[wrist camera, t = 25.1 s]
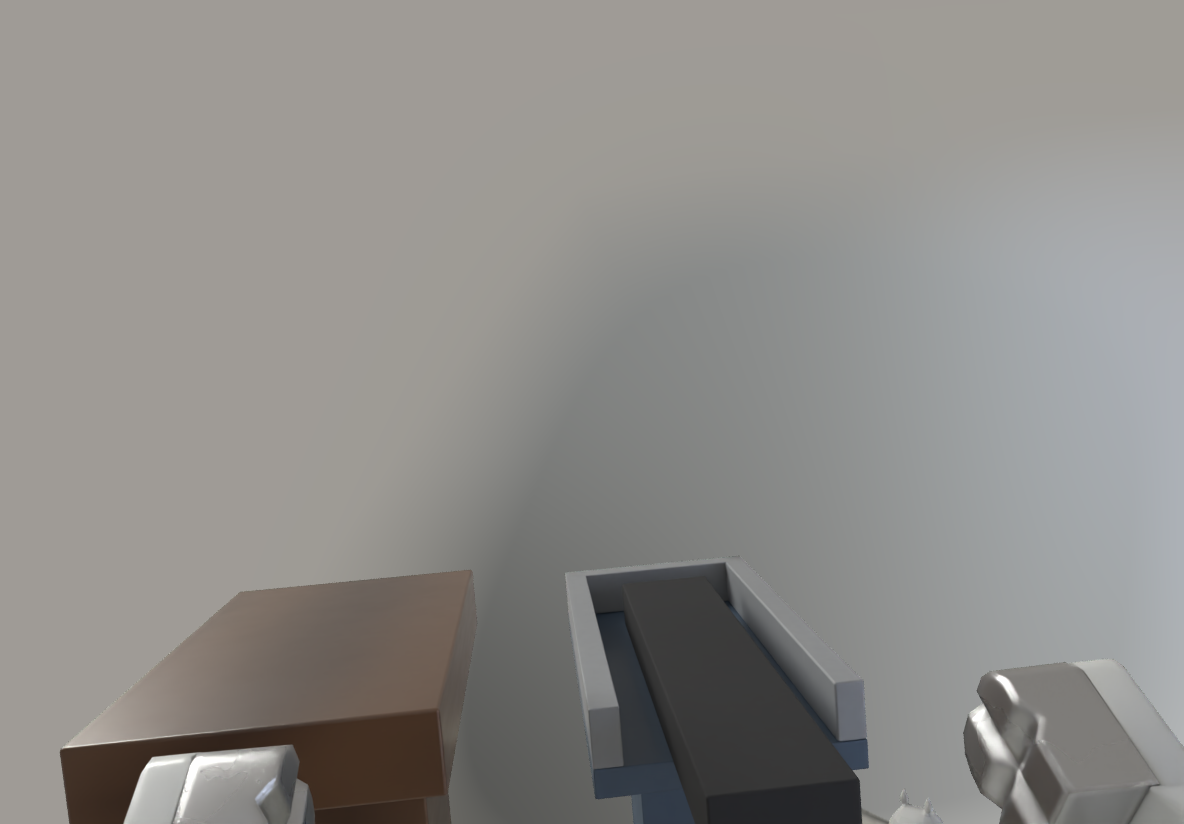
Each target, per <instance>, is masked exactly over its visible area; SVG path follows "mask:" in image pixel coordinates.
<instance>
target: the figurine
mask: <svg viewBox="0 0 1184 824" xmlns="http://www.w3.org/2000/svg"><path fill="white" fill-rule="evenodd" d="M900 801H901V802H902V804H903V805H902V806H901V807H900V808H899V809H898V810H897V811H896V812H895V813H894V814H893V816H892V817H891V819H890V821H889V824H943V822H942V820H941V818H940V817H939V816H938V815H937V814H936V812H935V811H934V810H933V807H932V804H931V801H930V799H929V798H928V799H927V800H926V802H925V805H924V808H922V807H918V806H913V805H911V804H909V803H908V801H909V798H908V795H907V793H906V790H905V789H903V791H902V793H901V795H900Z"/></svg>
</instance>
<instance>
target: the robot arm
mask: <svg viewBox="0 0 1184 824" xmlns="http://www.w3.org/2000/svg"><path fill="white" fill-rule="evenodd" d="M977 693H978V694H979V696H980V698H981V700H982V702H983V703H982V704H981V705H979V706H978V707H977V708H976V709H975V710H973V711H972V712H971V713H970V714H969V715H968V718H967V721H966V725H965V729H964V732H963V734H964V744H965V755H966V758H967V761H968V765H969V768H970V771H971V774H972V776H973V778H974V780H975V782H976V784H977V786H978V788H979V790H980V793H981V794H983V795H984V796H985V797H987V798H988V799H989V800H991V801H992V802H993V803H995V804H996V805H997V806H999V807H1000V808H1001V809H1002V812H1001V817H1000V823H999V824H1184V747H1183V745H1182V744H1181V743H1180V741H1179V740H1178V739H1177V737H1176V736H1175V735H1174V733H1173V732H1172V731H1171V729H1170V728H1169V727H1168V725H1167V724H1166V723H1165V721H1164V720H1163V719H1162V717H1161V716H1160V715H1159V713H1158V712H1157V710H1156V709H1155V708H1154V706H1153V705H1152V704H1151V702H1150V701H1149V700H1148V698H1147V697H1146V696H1145V694H1144V693H1143V692H1142V690H1141V689H1140V688H1139V686H1138V685H1137V683H1136V682H1135V681H1134V680H1133V678H1132V677H1131V675H1130V674H1129V673H1128V671H1127V670H1126V669H1125V667H1124V666H1122V665H1121V664H1120V663H1118V662H1117V661H1115V660H1114V659H1100V660H1091V661H1083V662H1075V663H1066V662H1063V663H1054V664H1046V665H1038V666H1029V667H1021V668H1014V669H1005V670H996V671H990V672H988V673H987V674H985V675H984V676H982V677H981V680H980V683H979V686H978V688H977ZM299 762H300V761H299V759H298V757H297V754H296V752H295V749H294V747H293V745H282V746H271V747H259V748H248V749H237V750H225V751H214V752H203V753H201V752H198V753H188V754H178V755H168V756H159V757H152V758H151V760H150V761H149V762H148V764H147V765H146V767H145V768H144V770H143V771H142V772H141V775H140V777H139V780H138V783H137V786H136V789H135V792H134V795H133V798H132V800H131V803H130V806H129V809H128V812H127V815H126V818H125V821H124V824H315V813H314V806H313V799H312V795H311V792H310V789H309V786H308V784H306V783H304V782H302V781H301V780H299V779H297V774H298V768H299Z"/></svg>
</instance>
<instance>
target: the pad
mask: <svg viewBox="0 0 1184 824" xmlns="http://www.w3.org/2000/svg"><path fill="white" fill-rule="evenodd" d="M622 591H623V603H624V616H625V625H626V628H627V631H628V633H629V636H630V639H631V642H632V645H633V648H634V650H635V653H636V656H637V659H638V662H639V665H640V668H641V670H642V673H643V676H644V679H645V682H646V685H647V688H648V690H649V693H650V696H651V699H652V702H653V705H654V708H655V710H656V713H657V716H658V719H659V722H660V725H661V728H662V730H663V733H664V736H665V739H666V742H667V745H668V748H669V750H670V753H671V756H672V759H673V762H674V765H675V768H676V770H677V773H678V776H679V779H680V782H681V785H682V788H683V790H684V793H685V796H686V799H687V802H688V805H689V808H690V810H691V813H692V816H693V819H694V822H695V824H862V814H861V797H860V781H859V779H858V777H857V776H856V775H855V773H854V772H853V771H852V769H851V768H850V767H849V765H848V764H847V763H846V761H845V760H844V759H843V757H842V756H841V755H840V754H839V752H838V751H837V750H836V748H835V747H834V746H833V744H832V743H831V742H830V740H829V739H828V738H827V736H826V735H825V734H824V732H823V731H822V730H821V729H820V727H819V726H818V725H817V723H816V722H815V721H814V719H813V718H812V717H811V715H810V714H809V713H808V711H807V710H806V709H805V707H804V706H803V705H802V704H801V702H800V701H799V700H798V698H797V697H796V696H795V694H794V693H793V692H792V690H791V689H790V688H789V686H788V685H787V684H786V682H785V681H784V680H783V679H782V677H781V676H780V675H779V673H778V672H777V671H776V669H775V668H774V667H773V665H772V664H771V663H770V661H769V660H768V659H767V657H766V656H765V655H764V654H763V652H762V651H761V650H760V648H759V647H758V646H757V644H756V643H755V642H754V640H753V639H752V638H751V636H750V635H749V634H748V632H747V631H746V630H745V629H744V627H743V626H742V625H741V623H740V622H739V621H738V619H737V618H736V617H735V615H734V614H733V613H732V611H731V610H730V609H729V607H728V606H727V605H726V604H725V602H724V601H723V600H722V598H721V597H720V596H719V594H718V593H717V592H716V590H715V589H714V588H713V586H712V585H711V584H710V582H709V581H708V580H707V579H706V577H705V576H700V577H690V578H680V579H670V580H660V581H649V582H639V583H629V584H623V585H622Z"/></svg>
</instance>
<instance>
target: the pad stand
mask: <svg viewBox="0 0 1184 824" xmlns="http://www.w3.org/2000/svg"><path fill="white" fill-rule="evenodd" d="M476 627H477V617H476V605H475V594H474V583H473V572H472V571H471V570H464V571H453V572H443V573H432V574H422V575H411V576H401V577H391V578H380V579H370V580H360V581H349V582H339V583H328V584H318V585H308V586H297V587H287V588H277V589H266V590H256V591H245V592H240V593H238V594H237V595H236V596H235V597H234V598H232V599H231V600H230V601H229V602H228V603H227V604H226V605H224V606H223V607H222V608H221V609H220V610H219V611H218V612H216V613H215V614H214V615H213V616H212V617H211V618H210V619H209V620H207V621H206V622H205V623H204V624H203V625H202V626H201V627H199V628H198V629H197V630H196V631H195V632H194V633H192V634H191V635H190V636H189V637H188V638H187V639H186V640H184V641H183V642H182V643H181V644H180V645H179V646H178V647H176V648H175V649H174V650H173V651H172V652H171V653H170V654H168V655H167V656H166V657H165V658H164V659H163V660H162V661H160V662H159V663H158V664H157V665H156V666H155V667H154V668H153V669H151V670H150V671H149V672H148V673H147V674H146V675H144V676H143V677H142V678H141V679H140V680H139V681H138V682H136V683H135V684H134V685H133V686H132V687H131V688H130V689H128V691H126V692H125V693H124V694H123V695H122V696H120V697H119V698H118V699H117V700H116V701H115V702H114V703H112V704H111V705H110V706H109V707H108V708H107V709H106V710H105V711H104V712H102V713H101V714H100V715H99V716H98V717H97V718H95V719H94V720H93V721H92V722H91V723H90V724H88V725H87V726H86V727H85V728H84V729H83V730H82V731H81V732H79V733H78V734H77V735H76V736H75V737H74V738H72V739H71V740H70V741H69V742H68V743H67V744H66V745H64V747H62V748H61V750H60V757H61V764H62V771H63V779H64V787H65V794H66V801H67V809H68V816H69V823H70V824H124V821H125V818H126V815H127V812H128V809H129V806H130V803H131V800H132V798H133V795H134V792H135V789H136V786H137V783H138V780H139V777H140V775H141V772H142V771H143V770H144V768H145V767H146V765H147V764H148V762H149V761H150V760H151V758H152V757H159V756H168V755H178V754H188V753H198V752H201V753H203V752H214V751H225V750H237V749H248V748H259V747H271V746H282V745H293V747H294V749H295V752H296V754H297V757H298V759H299V761H300V762H299V768H298V774H297V779H299V780H301V781H302V782H304V783H306V784H308V786H309V789H310V792H311V795H312V799H313V806H314V813H315V824H451V816H450V806H449V796H448V788H449V782H450V776H451V771H452V765H453V759H454V754H455V747H456V742H457V736H458V731H459V725H460V719H461V713H462V707H463V702H464V696H465V690H466V684H467V679H468V673H469V667H470V662H471V656H472V650H473V644H474V639H475V633H476Z"/></svg>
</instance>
